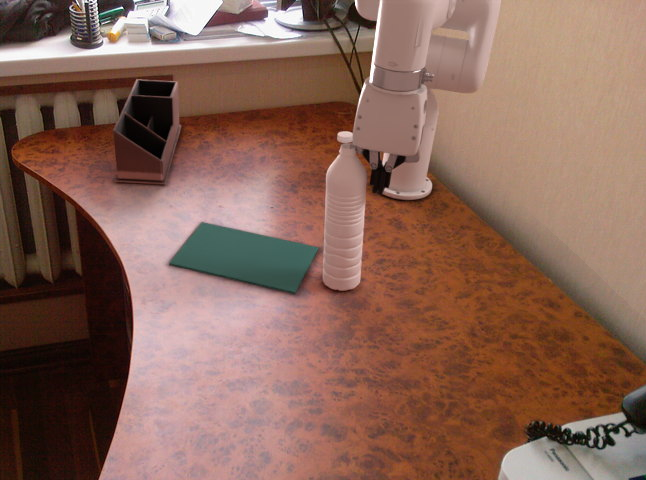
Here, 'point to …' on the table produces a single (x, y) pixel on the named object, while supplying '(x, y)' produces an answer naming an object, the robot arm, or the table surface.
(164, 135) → the desk organizer
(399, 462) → the table surface
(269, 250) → the mat
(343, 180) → the water bottle
